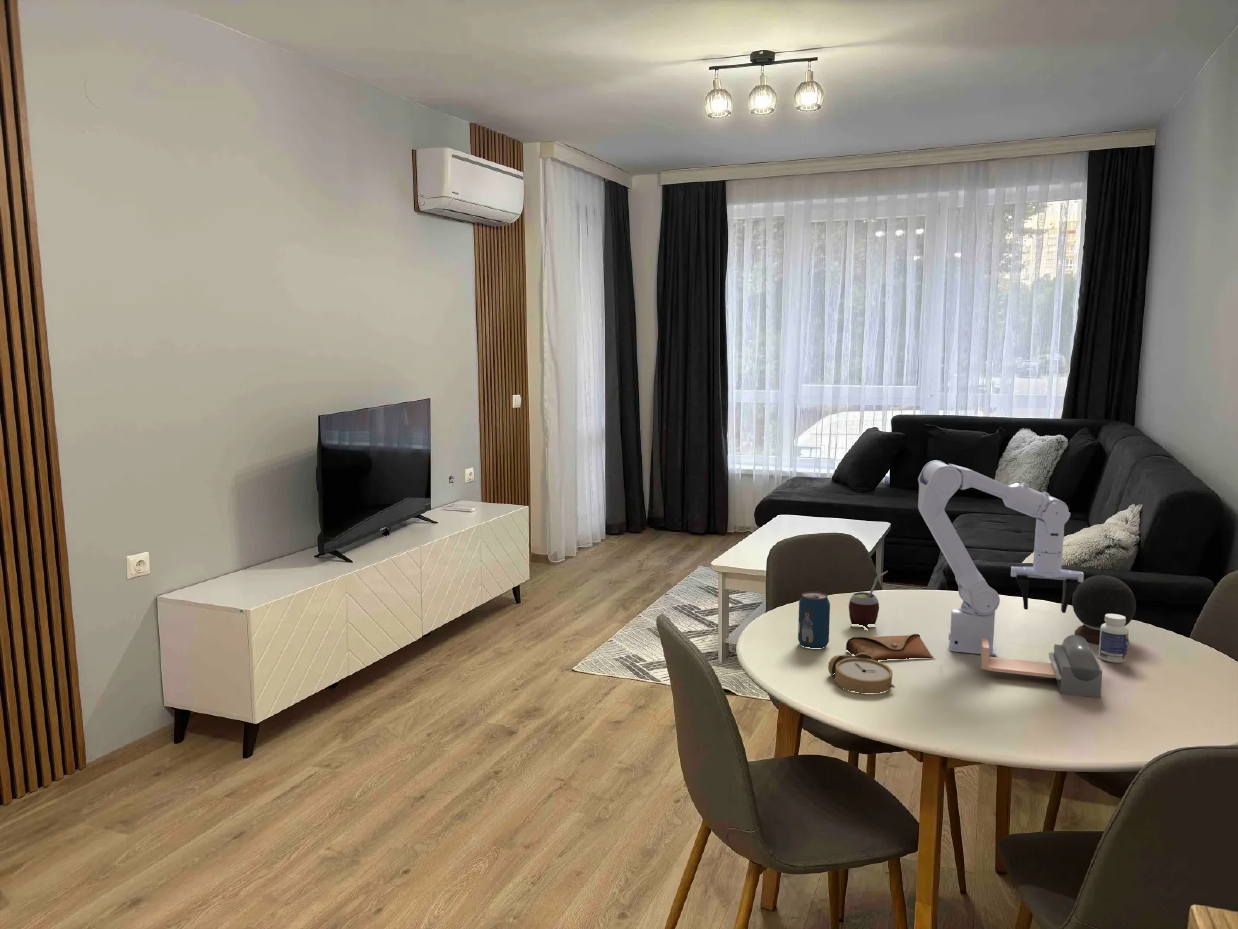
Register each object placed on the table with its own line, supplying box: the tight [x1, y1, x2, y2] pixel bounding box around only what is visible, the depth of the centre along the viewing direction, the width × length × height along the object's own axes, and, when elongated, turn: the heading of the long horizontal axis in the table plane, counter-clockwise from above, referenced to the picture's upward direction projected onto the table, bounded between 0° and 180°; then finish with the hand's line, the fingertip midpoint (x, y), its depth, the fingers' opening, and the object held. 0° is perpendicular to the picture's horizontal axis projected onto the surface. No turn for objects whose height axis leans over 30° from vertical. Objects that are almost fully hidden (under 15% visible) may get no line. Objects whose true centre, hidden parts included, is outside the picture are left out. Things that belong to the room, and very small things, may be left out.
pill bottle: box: [1098, 614, 1129, 664], centre depth 196 cm, size 5×5×10 cm
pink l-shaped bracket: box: [980, 638, 1056, 679], centre depth 186 cm, size 14×7×5 cm, turn 70°
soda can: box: [797, 591, 831, 648], centre depth 205 cm, size 7×7×12 cm
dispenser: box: [1048, 634, 1103, 699], centre depth 182 cm, size 8×14×8 cm, turn 160°
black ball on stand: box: [1071, 574, 1137, 646], centre depth 209 cm, size 13×13×15 cm
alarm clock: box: [827, 653, 896, 693], centre depth 184 cm, size 11×5×15 cm
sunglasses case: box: [845, 633, 934, 661], centre depth 200 cm, size 18×7×7 cm, turn 100°
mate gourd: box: [848, 570, 889, 628], centre depth 218 cm, size 8×8×15 cm
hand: (1044, 610), depth 201 cm, fingers open, 7 cm apart
